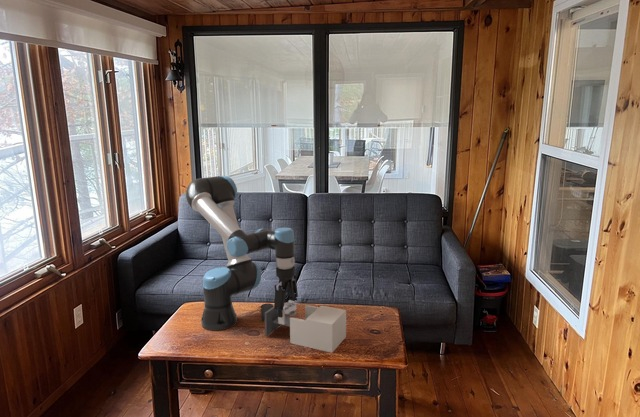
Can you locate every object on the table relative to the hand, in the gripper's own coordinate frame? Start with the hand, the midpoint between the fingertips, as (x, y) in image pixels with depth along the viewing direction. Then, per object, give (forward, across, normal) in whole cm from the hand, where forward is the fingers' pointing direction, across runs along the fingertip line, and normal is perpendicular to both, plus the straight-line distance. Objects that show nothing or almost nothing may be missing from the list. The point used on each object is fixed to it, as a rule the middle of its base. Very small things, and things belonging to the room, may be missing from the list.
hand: (287, 319), depth 180 cm
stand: (+6, +8, +15) cm, 18 cm away
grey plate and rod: (+5, 0, -2) cm, 6 cm away
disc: (-4, 0, 0) cm, 4 cm away
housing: (+6, 0, -14) cm, 16 cm away
